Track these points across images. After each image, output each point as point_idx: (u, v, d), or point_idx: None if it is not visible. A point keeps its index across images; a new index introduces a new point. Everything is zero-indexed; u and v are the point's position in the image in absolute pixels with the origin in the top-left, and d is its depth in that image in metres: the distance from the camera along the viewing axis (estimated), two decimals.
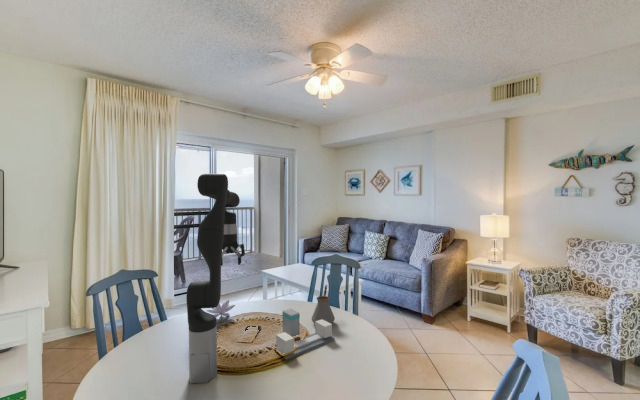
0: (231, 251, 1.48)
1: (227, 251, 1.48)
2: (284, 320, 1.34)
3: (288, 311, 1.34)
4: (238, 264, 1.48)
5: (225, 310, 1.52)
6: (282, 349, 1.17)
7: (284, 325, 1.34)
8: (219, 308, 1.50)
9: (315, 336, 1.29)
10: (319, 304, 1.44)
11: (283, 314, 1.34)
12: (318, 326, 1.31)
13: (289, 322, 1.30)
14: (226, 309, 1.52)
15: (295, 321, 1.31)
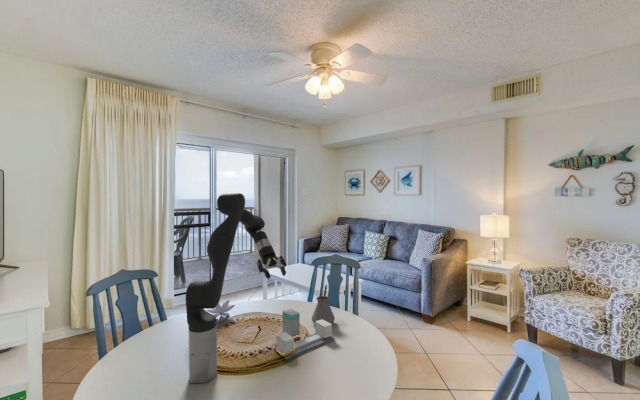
0: (274, 263, 1.46)
1: (270, 263, 1.45)
2: (284, 320, 1.34)
3: (288, 311, 1.34)
4: (285, 273, 1.45)
5: (225, 310, 1.52)
6: (282, 349, 1.17)
7: (284, 325, 1.34)
8: (219, 308, 1.50)
9: (315, 336, 1.29)
10: (319, 304, 1.44)
11: (283, 314, 1.34)
12: (318, 326, 1.31)
13: (289, 322, 1.30)
14: (226, 309, 1.52)
15: (295, 321, 1.31)
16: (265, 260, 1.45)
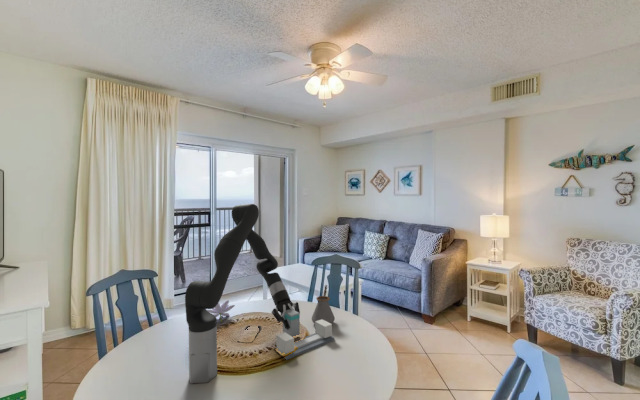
0: (287, 309, 1.36)
1: (286, 309, 1.36)
2: None
3: (288, 311, 1.34)
4: None
5: (224, 310, 1.52)
6: (282, 349, 1.17)
7: None
8: (218, 308, 1.50)
9: (315, 336, 1.29)
10: (319, 304, 1.44)
11: None
12: (318, 326, 1.31)
13: (289, 322, 1.30)
14: (225, 309, 1.52)
15: (295, 321, 1.31)
16: (280, 307, 1.35)
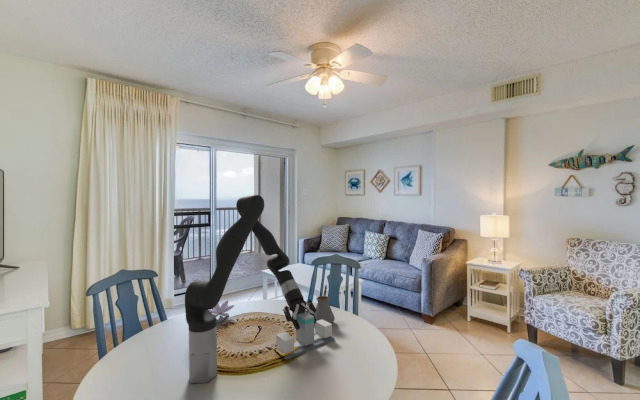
0: (302, 309, 1.28)
1: (299, 310, 1.26)
2: None
3: (302, 314, 1.25)
4: (315, 321, 1.26)
5: (224, 310, 1.52)
6: (282, 349, 1.17)
7: None
8: (218, 308, 1.49)
9: (315, 336, 1.29)
10: (319, 304, 1.44)
11: (296, 318, 1.26)
12: (318, 326, 1.31)
13: (303, 326, 1.22)
14: (225, 309, 1.52)
15: (309, 325, 1.22)
16: (293, 306, 1.26)
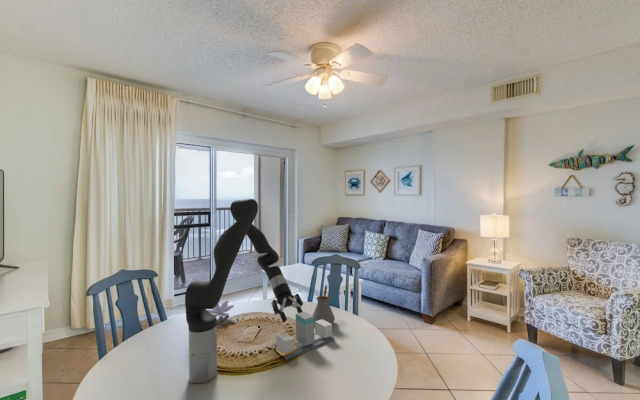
0: (290, 302, 1.36)
1: (286, 303, 1.35)
2: (297, 324, 1.25)
3: (302, 314, 1.25)
4: None
5: (224, 310, 1.51)
6: (282, 349, 1.17)
7: (297, 329, 1.25)
8: (218, 308, 1.49)
9: (315, 336, 1.29)
10: (319, 304, 1.44)
11: (296, 318, 1.26)
12: (318, 326, 1.31)
13: (303, 326, 1.22)
14: (225, 309, 1.52)
15: (309, 325, 1.22)
16: (280, 300, 1.34)
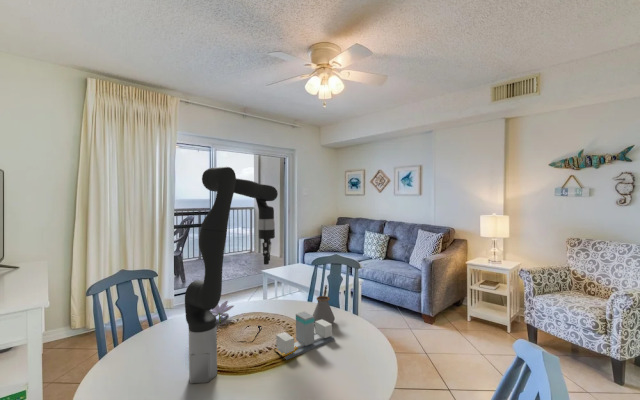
0: (269, 247, 1.41)
1: (269, 247, 1.39)
2: (297, 324, 1.25)
3: (302, 314, 1.25)
4: (269, 260, 1.44)
5: (223, 310, 1.51)
6: (282, 349, 1.17)
7: (297, 329, 1.25)
8: (217, 308, 1.49)
9: (315, 336, 1.29)
10: (319, 304, 1.44)
11: (296, 318, 1.26)
12: (318, 326, 1.31)
13: (303, 326, 1.22)
14: (224, 309, 1.51)
15: (309, 325, 1.22)
16: (268, 244, 1.37)
